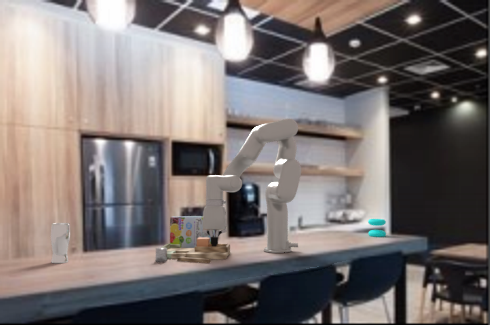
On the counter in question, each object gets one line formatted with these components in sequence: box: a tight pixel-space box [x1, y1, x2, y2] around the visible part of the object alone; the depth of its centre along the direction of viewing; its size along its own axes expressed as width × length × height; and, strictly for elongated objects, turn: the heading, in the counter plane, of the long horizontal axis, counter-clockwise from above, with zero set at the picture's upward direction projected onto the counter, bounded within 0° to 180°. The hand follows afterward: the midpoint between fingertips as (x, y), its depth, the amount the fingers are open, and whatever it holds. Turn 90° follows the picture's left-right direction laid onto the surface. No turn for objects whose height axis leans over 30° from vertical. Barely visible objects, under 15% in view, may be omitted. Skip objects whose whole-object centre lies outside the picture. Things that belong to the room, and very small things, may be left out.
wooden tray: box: [159, 242, 231, 260], centre depth 179 cm, size 28×16×4 cm, turn 86°
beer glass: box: [50, 222, 71, 265], centre depth 164 cm, size 7×7×15 cm
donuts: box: [367, 218, 387, 238], centre depth 248 cm, size 10×10×10 cm
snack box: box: [169, 215, 216, 248], centre depth 202 cm, size 21×6×15 cm, turn 84°
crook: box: [176, 256, 212, 264], centre depth 166 cm, size 14×5×2 cm, turn 69°
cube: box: [197, 237, 210, 247], centre depth 182 cm, size 5×5×5 cm
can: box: [155, 247, 168, 263], centre depth 166 cm, size 4×4×5 cm
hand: (214, 246), depth 181 cm, fingers closed
